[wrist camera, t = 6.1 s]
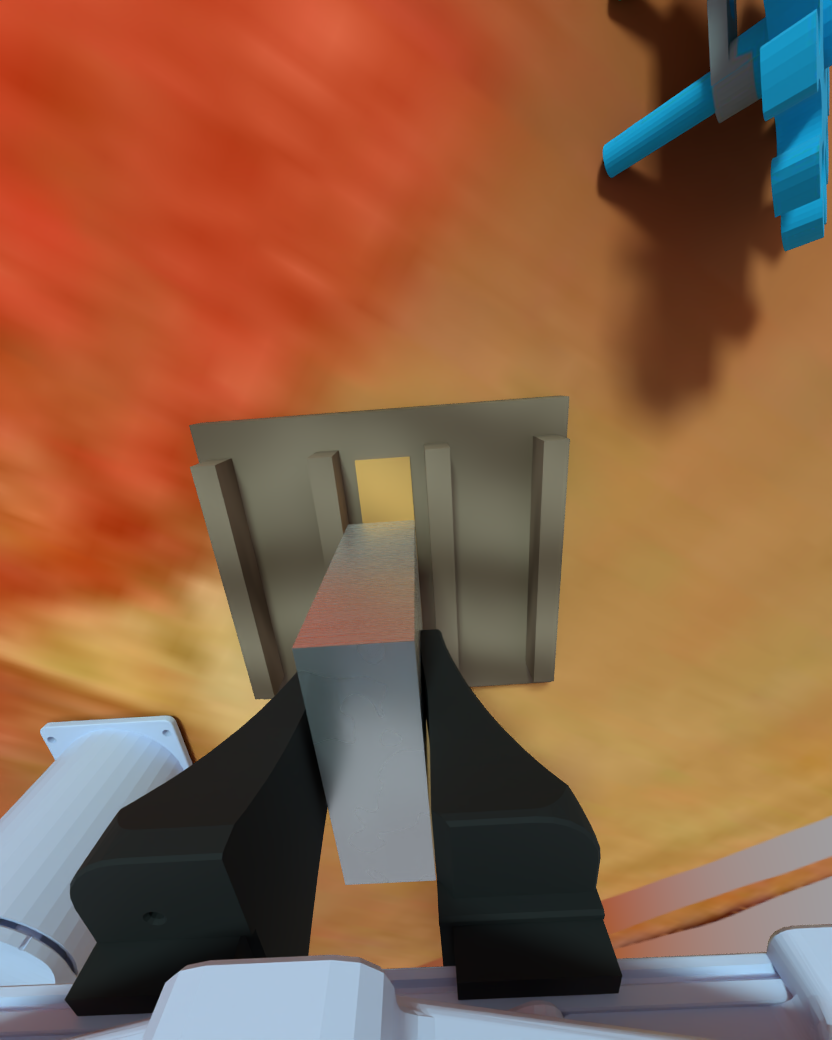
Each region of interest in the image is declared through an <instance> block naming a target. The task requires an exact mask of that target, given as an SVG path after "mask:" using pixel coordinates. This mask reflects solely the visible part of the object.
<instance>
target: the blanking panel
mask: <svg viewBox="0 0 832 1040" xmlns="http://www.w3.org/2000/svg"><path fill="white" fill-rule="evenodd" d="M420 630H423V623H422V611H421V598H420V585H419V573H418V560H417V547H416V535H415V522H414V520H406V521H392V522H378V523H363V524H349V525H348V526H347V528H346V530H345V532H344V534H343V537H342V539H341V541H340V543H339V545H338V548H337V550H336V552H335V554H334V556H333V559H332V561H331V563H330V565H329V568H328V570H327V572H326V574H325V576H324V579H323V581H322V583H321V585H320V587H319V590H318V592H317V594H316V596H315V598H314V601H313V603H312V605H311V607H310V610H309V612H308V614H307V616H306V618H305V621H304V623H303V625H302V627H301V629H300V632H299V634H298V636H297V638H296V640H295V643H294V645H293V647H292V651H293V656H294V660H295V664H296V669H297V673H298V678H299V682H300V686H301V691H302V695H303V700H304V704H305V708H306V713H307V717H308V722H309V726H310V730H311V735H312V739H313V744H314V748H315V752H316V757H317V761H318V766H319V770H320V774H321V779H322V783H323V788H324V792H325V796H326V801H327V805H328V810H329V814H330V818H331V823H332V827H333V832H334V836H335V841H336V845H337V849H338V854H339V858H340V863H341V867H342V871H343V876H344V880H345V885H351V884H371V883H391V882H412V881H432V880H436V874H435V851H434V838H433V827H432V815H431V781H430V743H429V735H428V728H427V721H426V710H425V698H424V686H423V674H422V662H421V650H420Z"/></svg>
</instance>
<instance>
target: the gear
mask: <svg viewBox="0 0 832 1040" xmlns="http://www.w3.org/2000/svg"><path fill="white" fill-rule="evenodd" d="M619 1H621V0H619ZM763 1H764V7H765V14H766V17H765V18H763V19H762V20H760V21H759V22H758V23H756V24H755V25H753V26H752V27H751V28H749V29H748V30H747V31H745V32H744V33H742V34H741V35H740V36H738V37H737V11H736V0H707V10H708V31H709V53H710V72H708V73H707V74H705V75H704V76H703V77H701V78H700V79H698V80H697V81H695V82H694V83H693V84H691V85H690V86H688V87H687V88H685V89H684V90H683V91H681V92H680V93H678V94H677V95H675V96H674V97H672V98H671V99H670V100H668V101H667V102H665V103H664V104H662V105H661V106H660V107H658V108H657V109H655V110H654V111H652V112H651V113H650V114H648V115H647V116H645V117H644V118H642V119H641V120H639V121H638V122H637V123H635V124H634V125H632V126H631V127H629V128H628V129H627V130H625V131H624V132H622V133H621V134H619V135H618V136H617V137H615V138H614V139H612V140H611V141H609V142H608V143H607V144H605V145H604V147H603V160H604V165H605V168H606V171H607V174H608V175H609V177H610V178H612V177H614V176H616V175H617V174H619V173H620V172H622V171H624V170H625V169H627V168H628V167H630V166H632V165H633V164H635V163H636V162H638V161H640V160H641V159H643V158H644V157H646V156H648V155H649V154H651V153H652V152H654V151H656V150H657V149H659V148H660V147H662V146H664V145H665V144H667V143H668V142H670V141H671V140H673V139H675V138H676V137H678V136H679V135H681V134H683V133H684V132H686V131H687V130H689V129H691V128H692V127H694V126H695V125H697V124H699V123H700V122H702V121H703V120H705V119H707V118H708V117H710V116H711V115H713V114H716V118H717V120H718V122H719V123H721V122H723V121H725V120H726V119H728V118H730V117H731V116H733V115H734V114H736V113H738V112H739V111H741V110H743V109H744V108H746V107H748V106H749V105H751V104H753V103H754V102H756V101H758V100H759V99H761V98H762V106H763V116H764V120H765V121H767V120H769V119H771V118H773V117H774V118H775V124H776V136H777V156H776V157H774V158H773V159H772V162H771V184H772V196H773V205H774V214H775V217H777V216H780V215H781V236H782V243H783V247H784V250H785V251H788V250H790V249H793V248H796V247H799V246H801V245H804V244H807V243H809V242H812V241H815V240H818V239H820V238H823V237H824V225H825V224H826V221H827V189H826V184H828V116H829V67H830V66H831V65H832V0H763Z"/></svg>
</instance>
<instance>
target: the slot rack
mask: <svg viewBox="0 0 832 1040" xmlns="http://www.w3.org/2000/svg"><path fill="white" fill-rule="evenodd" d="M568 408H569V396H549V397H536V398H523V399H509V400H496V401H483V402H470V403H457V404H443V405H430V406H417V407H404V408H391V409H378V410H364V411H351V412H338V413H325V414H312V415H298V416H285V417H272V418H259V419H246V420H232V421H219V422H206V423H198V424H193V425H189V426H190V430H191V434H192V437H193V441H194V445H195V448H196V452H197V456H198V460H199V464H197V465H194V466H192V467H190V469H191V472H192V476H193V480H194V483H195V487H196V490H197V494H198V497H199V501H200V504H201V508H202V511H203V515H204V519H205V522H206V526H207V529H208V533H209V536H210V540H211V543H212V547H213V551H214V554H215V558H216V561H217V565H218V568H219V572H220V575H221V579H222V583H223V586H224V590H225V593H226V597H227V600H228V604H229V607H230V611H231V615H232V618H233V622H234V625H235V629H236V632H237V636H238V639H239V643H240V646H241V650H242V654H243V657H244V661H245V664H246V668H247V671H248V675H249V678H250V682H251V686H252V689H253V693H254V696H255V699H272V698H273V697H274V696H275V695H276V694H277V693H278V692H279V691H280V690H281V689H282V688H283V687H284V686H285V685H286V683H287V682H288V681H289V680H290V679H291V678H292V677H293V676H294V674H295V673H296V672H297V669H296V664H295V660H294V656H293V651H292V647H293V645H294V643H295V640H296V638H297V636H298V634H299V632H300V629H301V627H302V625H303V623H304V621H305V618H306V616H307V614H308V612H309V610H310V607H311V605H312V603H313V601H314V598H315V596H316V594H317V592H318V590H319V587H320V585H321V583H322V581H323V579H324V576H325V574H326V572H327V570H328V568H329V565H330V563H331V561H332V559H333V556H334V554H335V552H336V550H337V548H338V545H339V543H340V541H341V539H342V537H343V534H344V532H345V530H346V528H347V526H348V525H349V524H363V523H378V522H392V521H406V520H414V522H415V535H416V547H417V560H418V573H419V585H420V598H421V611H422V623H423V630H432V629H438V630H440V631H441V632H442V636H443V639H444V642H445V645H446V647H447V649H448V651H449V653H450V655H451V657H452V659H453V661H454V663H455V664H456V666H457V668H458V670H459V671H460V673H461V675H462V676H463V678H464V679H465V681H466V683H467V684H468V685H469V687H475V686H492V685H508V684H524V683H541V682H551V681H554V670H555V655H556V640H557V625H558V609H559V594H560V579H561V564H562V549H563V534H564V519H565V504H566V489H567V474H568V459H569V444H570V439H568V438H567V424H568Z"/></svg>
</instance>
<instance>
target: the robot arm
mask: <svg viewBox="0 0 832 1040" xmlns="http://www.w3.org/2000/svg"><path fill="white" fill-rule="evenodd" d="M420 650H421V662H422V674H423V686H424V698H425V710H426V721H427V728H428V735H429V743H430V781H431V815H432V827H433V838H434V850H435V861H436V873H437V889H438V911H439V927H440V934H441V945H442V956H443V967H421V968H398V969H381V967H380V966H378V965H375V964H373V963H371V962H369V961H366V960H364V959H362V958H359V957H350V956H340V955H319V956H308V953H309V943H310V934H311V925H312V917H313V909H314V901H315V893H316V885H317V877H318V869H319V862H320V855H321V848H322V840H323V833H324V827H325V820H326V814H327V807H328V805H327V801H326V796H325V792H324V788H323V783H322V779H321V774H320V770H319V766H318V761H317V757H316V752H315V748H314V744H313V739H312V735H311V730H310V726H309V722H308V717H307V713H306V708H305V704H304V700H303V695H302V691H301V686H300V682H299V678H298V673H297V672H296V673H295V674H294V676H293V677H292V678H291V679H290V680H289V681H288V682H287V683H286V685H285V686H284V687H283V688H282V689H281V690H280V691H279V692H278V693H277V694H276V695H275V696H274V697H273V698H272V699H271V700H270V701H269V702H268V703H267V704H266V705H265V706H264V707H263V708H262V709H261V710H260V711H259V712H258V713H257V714H256V715H255V716H254V717H252V718H251V719H250V720H249V721H248V722H247V723H246V724H245V725H243V726H242V727H241V728H240V729H239V730H237V731H236V732H235V733H234V734H232V735H231V736H230V737H229V738H227V739H226V740H225V741H223V742H222V743H221V744H220V745H218V746H217V747H216V748H215V749H213V750H212V751H211V752H209V753H208V754H207V755H205V756H204V757H202V758H201V759H200V760H198V761H197V762H195V763H194V764H192V761H191V759H190V756H189V753H188V751H187V748H186V746H185V743H184V740H183V738H182V735H181V733H180V730H179V727H178V725H177V722H176V720H175V719H174V718H173V717H171V716H150V717H134V718H117V719H101V720H84V721H68V722H51V723H47V724H46V725H45V726H44V727H43V728H41V730H40V733H41V735H42V737H43V739H44V741H45V742H46V744H47V746H48V748H49V750H50V751H51V753H52V755H53V757H54V759H55V761H54V763H53V764H52V765H51V766H50V767H49V768H48V769H47V770H46V771H45V772H44V773H43V774H42V775H41V776H40V777H39V778H38V780H37V781H36V782H35V783H34V784H33V785H32V786H31V787H30V788H29V789H28V790H27V791H26V792H25V793H24V794H23V795H22V797H21V798H20V799H19V800H18V801H17V802H16V803H15V804H14V805H13V806H12V807H11V808H10V809H9V810H8V811H7V813H6V814H5V815H4V816H3V817H2V818H1V819H0V1040H832V924H822V925H800V926H790V927H784V928H782V929H779V930H777V931H775V932H774V933H773V934H772V935H771V937H770V939H769V941H768V946H767V952H759V953H737V954H715V955H691V956H671V957H670V956H669V957H646V958H623V959H617V958H616V956H615V953H614V950H613V947H612V944H611V941H610V938H609V935H608V933H607V930H606V927H605V924H604V921H603V919H604V916H605V914H604V909H603V906H602V903H601V900H600V898H599V895H598V892H597V889H596V884H597V877H598V871H599V864H600V846H599V844H598V841H597V838H596V835H595V833H594V831H593V829H592V827H591V825H590V823H589V821H588V819H587V817H586V815H585V813H584V811H583V809H582V808H581V806H580V804H579V802H578V801H577V799H576V797H575V796H574V794H573V792H572V791H571V789H570V788H569V786H568V785H567V784H565V783H564V782H563V781H561V780H560V779H559V778H557V777H556V776H555V775H554V774H552V773H551V772H550V771H548V770H547V769H546V768H545V767H544V766H542V765H541V764H540V763H539V762H538V761H537V760H535V759H534V758H533V757H532V756H531V755H530V754H529V753H528V752H526V751H525V750H524V749H523V748H522V747H521V746H520V745H519V744H518V743H517V742H516V741H515V740H514V739H513V738H512V737H511V736H510V735H509V734H508V733H507V732H506V731H505V730H504V729H503V728H502V727H501V726H500V725H499V724H498V722H497V721H496V720H495V719H494V718H493V717H492V716H491V714H490V713H489V712H488V711H487V710H486V708H485V707H484V706H483V705H482V703H481V702H480V701H479V699H478V698H477V697H476V695H475V694H474V693H473V691H472V690H471V688H470V687H469V685H468V684H467V683H466V681H465V679H464V678H463V676H462V675H461V673H460V671H459V670H458V668H457V666H456V664H455V663H454V661H453V659H452V657H451V655H450V653H449V651H448V649H447V647H446V645H445V642H444V639H443V636H442V632H441V631H440V630H438V629H432V630H420Z"/></svg>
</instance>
